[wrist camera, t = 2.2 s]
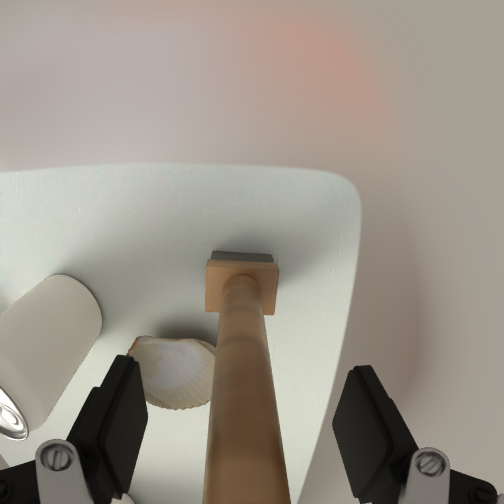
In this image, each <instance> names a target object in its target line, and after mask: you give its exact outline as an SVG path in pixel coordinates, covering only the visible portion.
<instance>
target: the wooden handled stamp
mask: <svg viewBox="0 0 504 504" xmlns="http://www.w3.org/2000/svg"><path fill="white" fill-rule="evenodd" d="M278 276H279V269H278V266H277V263H274V260H273V257H272V255H271V254H254V253H238V252H222V251H212V254H211V258H210V259H208V261H207V265H206V291H205V311H206V312H219V313H220V316H219V326H218V335H217V344H216V354H215V364H214V374H213V384H212V394H211V405H210V416H209V427H208V439H207V451H206V463H205V476H204V490H203V504H291V500H290V493H289V487H288V480H287V473H286V466H285V459H284V452H283V445H282V438H281V431H280V424H279V417H278V410H277V403H276V397H275V390H274V383H273V376H272V369H271V362H270V355H269V349H268V342H267V335H266V328H265V321H264V315H274V311H275V302H276V294H277V285H278Z"/></svg>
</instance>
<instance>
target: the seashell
mask: <svg viewBox="0 0 504 504" xmlns="http://www.w3.org/2000/svg"><path fill="white" fill-rule="evenodd" d="M215 354H216V347H215V346H213V345H210V344H209V343H208V342H206V341H200V340H198V339H188V338H170V339H163V338H156V337H151V336H140V337H137V338H136V339H135V341H134V343H133V345H132V346H131V348H130V349H129V350H128V353H127V354H126V356H132V357H134V360H135V361H138V362H139V364H140V371H141V377H142V383H143V389H144V395H145V400H146V401H147V402H148V403H150V404H152V405H155V406H159V407H161V408H166V409H174V410H177V409H183V410H184V409H186V408H193V407H199V406H201V405H203V404H204V405H205V404H206V403H208V402H209V401H211V394H212V384H213V374H214V364H215Z"/></svg>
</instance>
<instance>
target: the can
mask: <svg viewBox="0 0 504 504" xmlns="http://www.w3.org/2000/svg"><path fill="white" fill-rule="evenodd" d="M101 328H102V315H101V311H100V308H99V305H98V303H97V301H96V300H95V298H94V296H93V295H92V294H91V292H90V291H89V290H88V289H87V288H86V287H85V286H84V285H83V284H81V283H80V282H79V281H77V280H75V279H74V278H71V277H69V276H65V275H52V276H50V277H48V278H46V279H44V280H43V281H42V282H40V283H39V284H38V285H36V286H35V287H34V288H32V289H31V290H30V291H28V292H27V293H26V294H25V295H23V296H22V297H21V298H20V299H18V300H17V301H16V302H15V303H13V304H12V305H11V306H10V307H9V308H7V309H6V310H5V311H4V312H3V313H1V314H0V434H1V435H3V436H5V437H7V438H10V439H12V440H17V441H23V440H25V439H27V438H28V436H29V432H31V431H34V430H36V429H38V428H39V427H41V426H42V425H43V424H44V422H45V421H46V419H47V418H48V416H49V415H50V413H51V411H52V410H53V408H54V406H55V405H56V403H57V401H58V400H59V398H60V397H61V395H62V393H63V392H64V390H65V389H66V387H67V385H68V384H69V382H70V381H71V379H72V377H73V376H74V374H75V373H76V371H77V370H78V368H79V366H80V365H81V363H82V362H83V360H84V359H85V357H86V356H87V354H88V353H89V351H90V350H91V348H92V346H93V345H94V343H95V342H96V340H97V339H98V337H99V335H100V332H101Z"/></svg>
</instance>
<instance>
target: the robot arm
mask: <svg viewBox="0 0 504 504" xmlns="http://www.w3.org/2000/svg"><path fill="white" fill-rule="evenodd" d="M147 421H148V412H147V406H146V401H145V395H144V389H143V383H142V377H141V371H140V364H139V362H138V361H135V360H134V357H132V356H125V355H117V356H116V357H115V359H114V361H113V363H112V365H111V367H110V369H109V371H108V373H107V374H106V376H105V378H104V380H103V382H102V384H101V386H100V387H94V388H93V389H92V390H91V392H90V393H89V395H88V397H87V399H86V401H85V403H84V405H83V407H82V409H81V411H80V413H79V415H78V417H77V419H76V421H75V423H74V425H73V427H72V429H71V431H70V433H69V435H68V437H67V439H66V441H65V440H62V439H52V440H48V441H46V442H44V443H42V444H41V445H40V446H39V447H38V449H37V451H36V455H35V460H33V461H30V462H26V463H23V464H20V465H17V466H14V467H10V468H7V469H4V470H0V504H111V502H112V499H117V500H121V499H122V496H123V493H124V494H127V493H128V492H129V488H130V484H131V480H132V476H133V473H134V469H135V465H136V461H137V458H138V454H139V450H140V447H141V443H142V439H143V436H144V432H145V429H146V425H147ZM332 426H333V431H334V434H335V437H336V440H337V444H338V447H339V450H340V453H341V457H342V460H343V463H344V466H345V470H346V473H347V476H348V480H349V483H350V486H351V490H352V493H353V496H354V497H355V498H358V499H359V502H360V504H365V503H370V502H372V504H504V494H500V495H499V496H498V495H497V491H496V489H495V488H494V486H493V485H492V484H490V483H489V482H486V481H484V480H481V479H477V478H474V477H471V476H469V475H466V474H463V473H460V472H457V471H455V470H452V469H450V463H449V459H448V458H447V456H446V455H445V454H444V453H443V452H442V451H440V450H438V449H435V448H432V447H425V448H422V449H419V448H418V446H417V444H416V442H415V441H414V439H413V437H412V435H411V433H410V431H409V429H408V427H407V426H406V424H405V422H404V420H403V418H402V416H401V414H400V413H399V411H398V409H397V407H396V405H395V404H394V402H393V400H392V399H391V398H389V397H388V395H387V393H386V391H385V389H384V388H383V386H382V384H381V382H380V380H379V378H378V377H377V375H376V373H375V372H374V370H373V368H372V366H370V365H364V366H355V367H354V368H353V370H350V371H349V373H348V376H347V379H346V382H345V386H344V389H343V391H342V394H341V398H340V401H339V403H338V406H337V409H336V412H335V415H334V418H333V423H332Z"/></svg>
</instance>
